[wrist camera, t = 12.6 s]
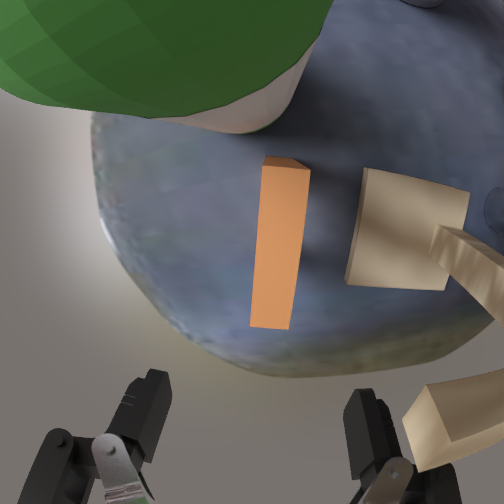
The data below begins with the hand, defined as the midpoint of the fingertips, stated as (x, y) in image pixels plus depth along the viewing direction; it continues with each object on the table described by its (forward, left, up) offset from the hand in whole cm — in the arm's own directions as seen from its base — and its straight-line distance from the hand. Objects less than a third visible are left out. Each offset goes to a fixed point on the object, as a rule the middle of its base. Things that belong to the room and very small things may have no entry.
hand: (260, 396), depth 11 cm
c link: (-5, 0, -15) cm, 15 cm away
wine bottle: (-14, -3, -15) cm, 21 cm away
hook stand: (-4, +11, -15) cm, 19 cm away
